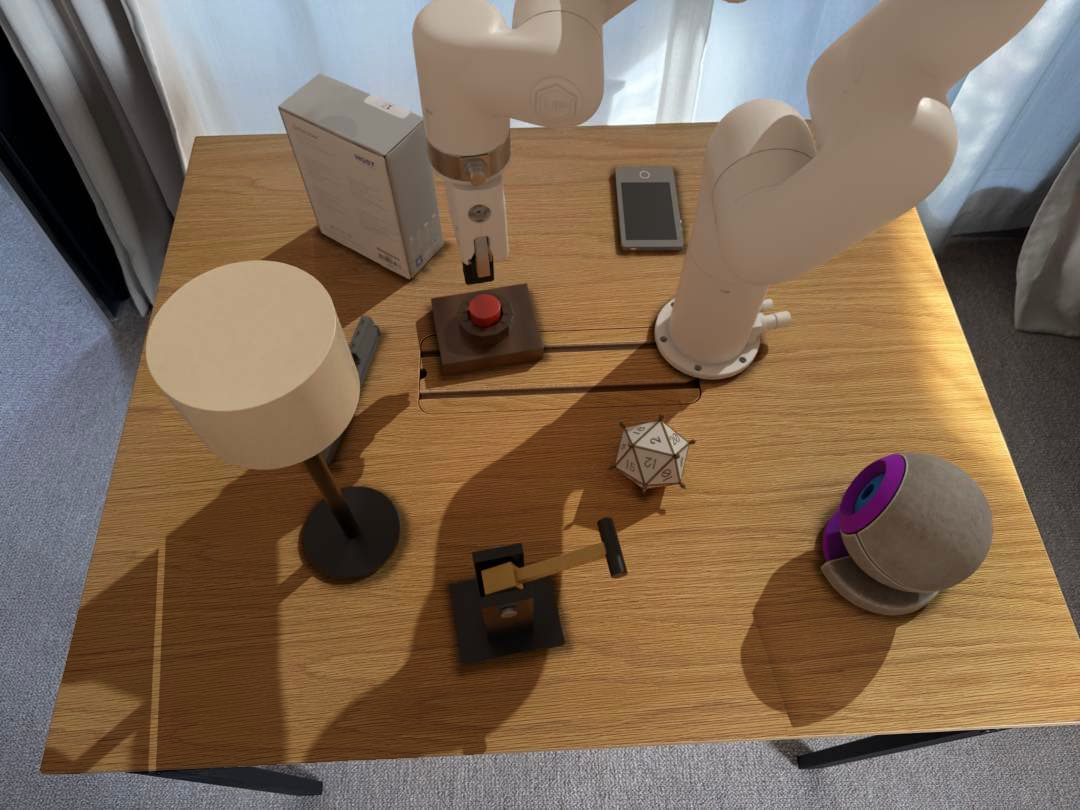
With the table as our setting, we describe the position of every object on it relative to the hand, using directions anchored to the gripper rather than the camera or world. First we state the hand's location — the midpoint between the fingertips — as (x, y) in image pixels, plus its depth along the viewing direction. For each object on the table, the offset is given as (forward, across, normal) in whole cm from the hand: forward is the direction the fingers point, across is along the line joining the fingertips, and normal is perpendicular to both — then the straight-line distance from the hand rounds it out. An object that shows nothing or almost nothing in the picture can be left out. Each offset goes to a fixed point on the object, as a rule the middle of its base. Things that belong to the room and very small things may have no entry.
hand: (478, 277), depth 85 cm
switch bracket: (+10, -35, +4) cm, 36 cm away
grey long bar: (+11, -6, +17) cm, 21 cm away
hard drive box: (+11, +18, +10) cm, 23 cm away
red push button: (+7, 0, 0) cm, 7 cm away
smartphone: (+10, +16, -26) cm, 32 cm away
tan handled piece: (-1, -35, -1) cm, 35 cm away
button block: (+10, 0, 0) cm, 10 cm away
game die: (+10, -22, -14) cm, 28 cm away
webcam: (+10, -36, -36) cm, 52 cm away
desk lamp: (+11, -23, +18) cm, 31 cm away
